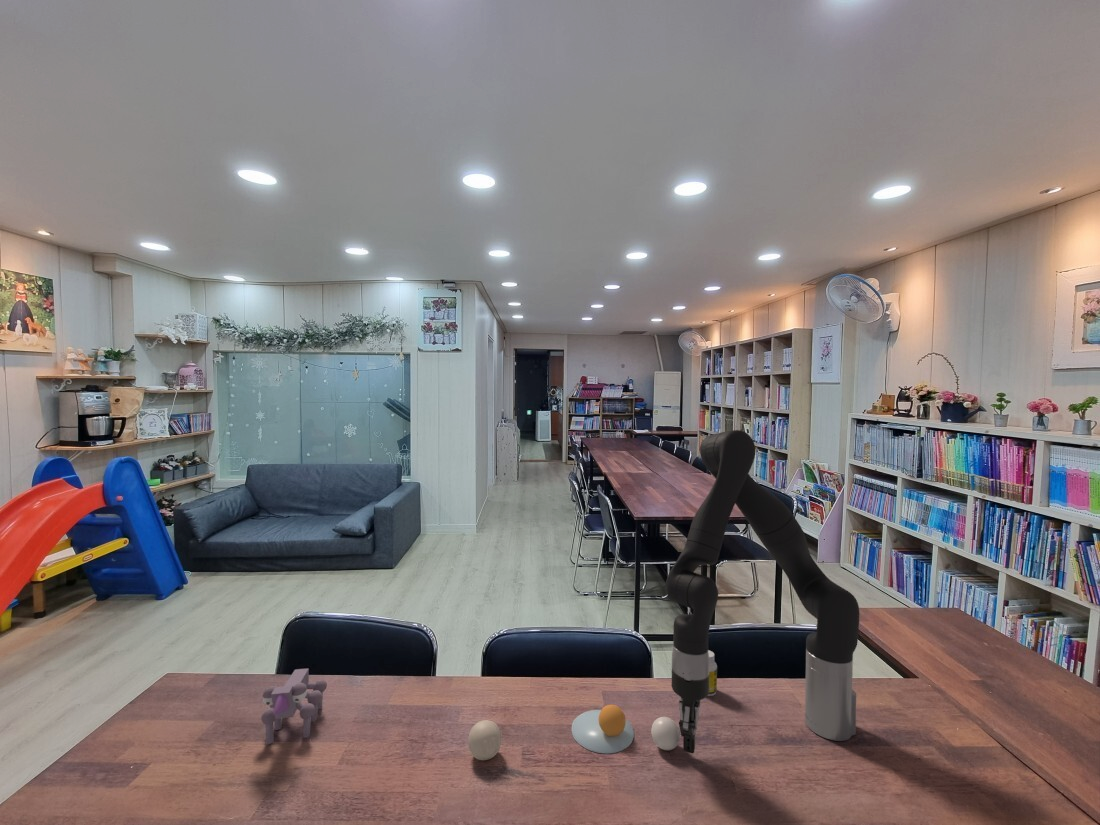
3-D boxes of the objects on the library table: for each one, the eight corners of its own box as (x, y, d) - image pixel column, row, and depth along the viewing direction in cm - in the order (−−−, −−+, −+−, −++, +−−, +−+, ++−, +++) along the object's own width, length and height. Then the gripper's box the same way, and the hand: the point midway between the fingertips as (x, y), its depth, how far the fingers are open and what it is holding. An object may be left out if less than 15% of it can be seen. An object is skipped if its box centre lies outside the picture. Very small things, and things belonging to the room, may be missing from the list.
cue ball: (676, 712, 104) (657, 727, 106) (660, 709, 101) (641, 724, 103) (690, 742, 99) (670, 757, 101) (674, 739, 96) (653, 755, 98)
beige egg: (475, 774, 93) (475, 741, 93) (464, 750, 99) (464, 719, 99) (506, 762, 96) (507, 730, 96) (494, 740, 103) (494, 710, 103)
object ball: (627, 703, 108) (604, 705, 110) (617, 703, 103) (592, 705, 106) (631, 735, 104) (607, 736, 107) (620, 736, 100) (595, 737, 102)
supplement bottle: (718, 698, 118) (718, 659, 118) (695, 695, 119) (696, 657, 119) (715, 685, 124) (715, 649, 123) (693, 683, 125) (694, 646, 124)
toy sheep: (303, 766, 95) (299, 699, 94) (244, 776, 93) (241, 708, 92) (330, 704, 114) (327, 649, 114) (282, 711, 112) (279, 655, 112)
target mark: (624, 709, 114) (624, 708, 114) (641, 751, 100) (641, 750, 100) (567, 712, 112) (567, 711, 112) (576, 755, 98) (576, 754, 98)
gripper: (677, 649, 105) (676, 725, 106) (666, 680, 93) (665, 766, 94) (712, 656, 102) (711, 735, 103) (705, 690, 90) (704, 779, 91)
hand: (689, 750), depth 98 cm, fingers closed
